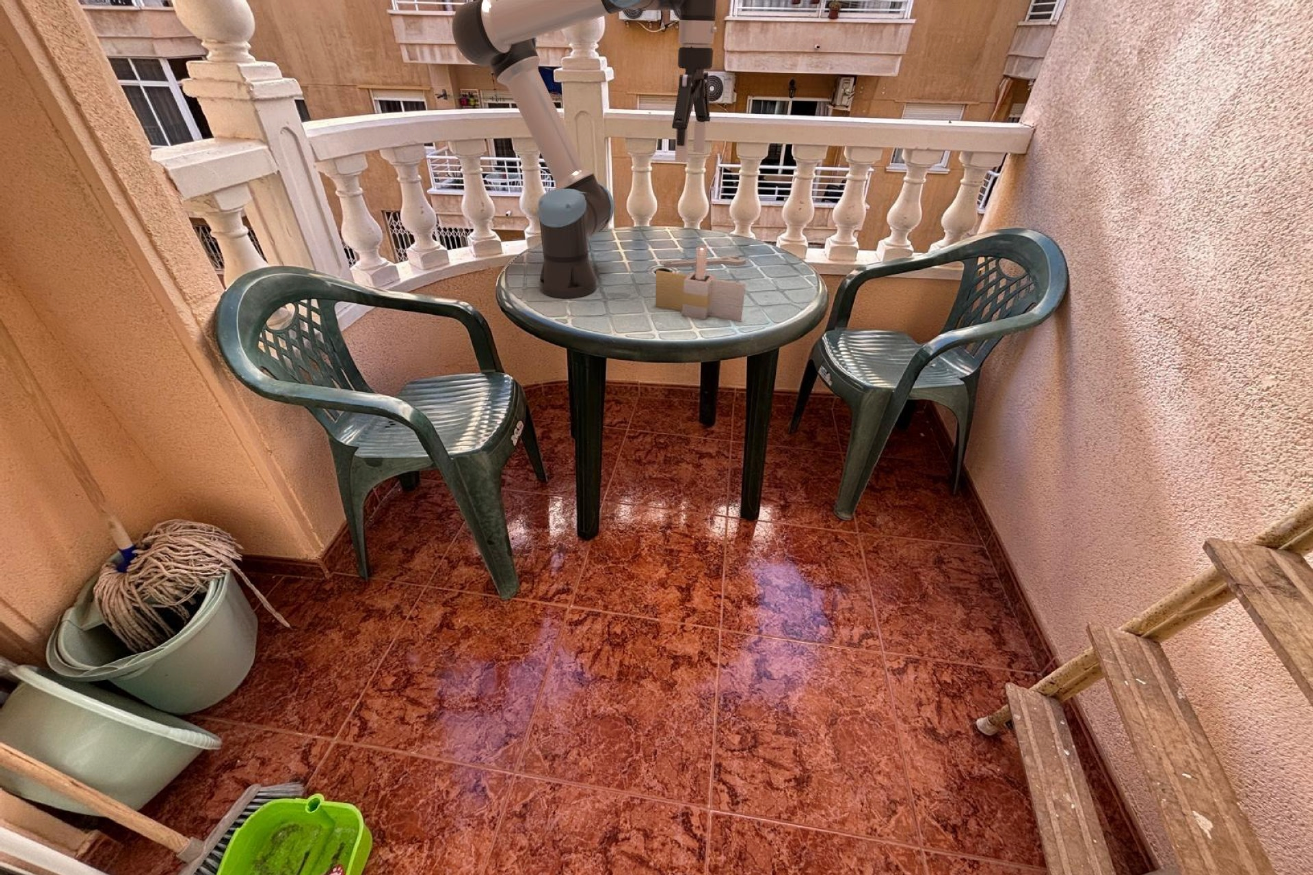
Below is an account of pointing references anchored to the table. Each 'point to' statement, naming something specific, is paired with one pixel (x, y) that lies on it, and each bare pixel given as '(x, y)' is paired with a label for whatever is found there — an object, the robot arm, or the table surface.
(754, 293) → the table surface
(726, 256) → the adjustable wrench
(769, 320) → the table surface
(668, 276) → the hinge
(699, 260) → the hinge pin
